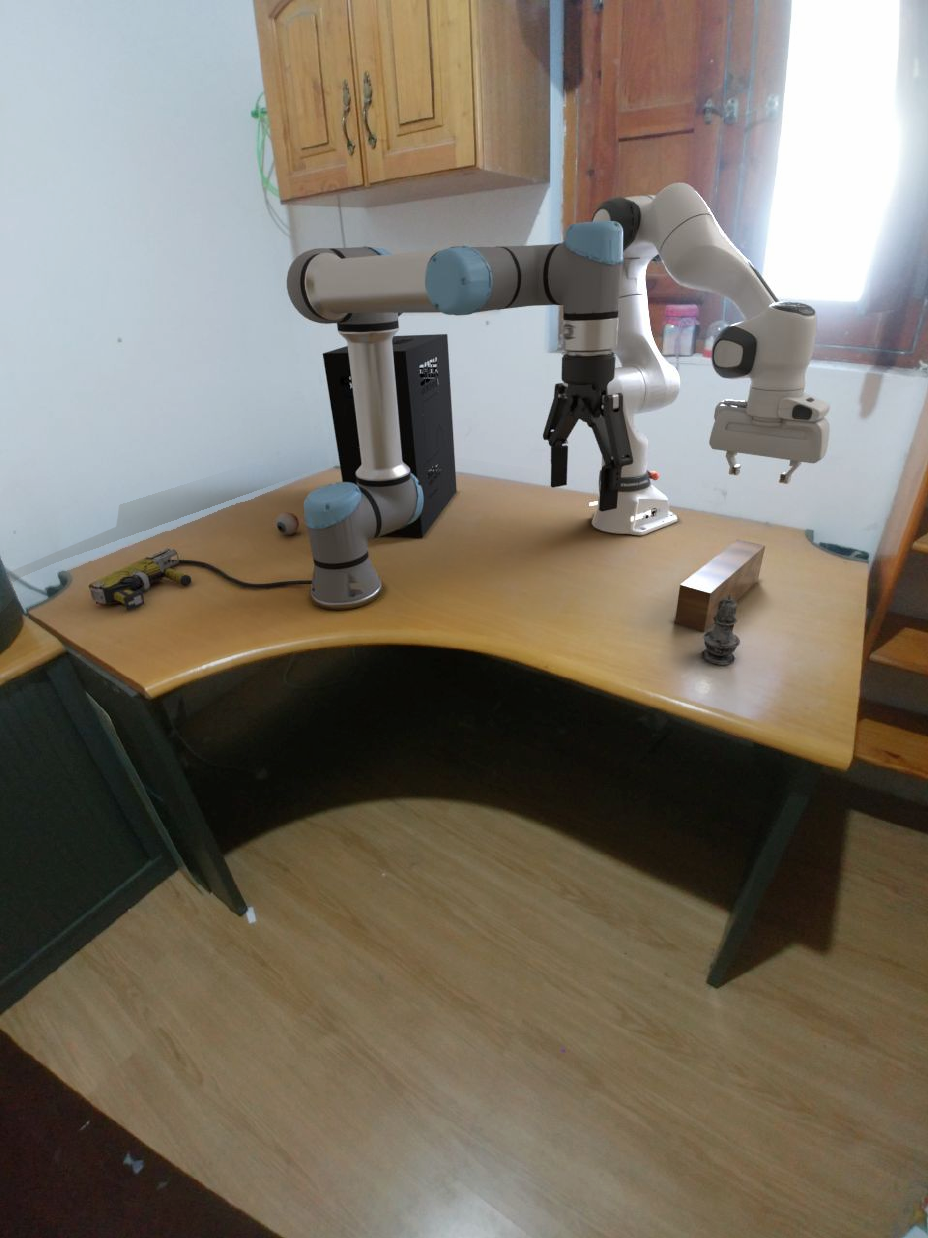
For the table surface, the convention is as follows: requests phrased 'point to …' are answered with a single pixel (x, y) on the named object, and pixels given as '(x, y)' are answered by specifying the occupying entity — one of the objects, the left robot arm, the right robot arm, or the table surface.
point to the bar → (718, 583)
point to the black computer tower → (405, 420)
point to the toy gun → (136, 580)
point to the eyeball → (287, 523)
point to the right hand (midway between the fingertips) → (758, 478)
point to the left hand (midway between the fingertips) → (581, 497)
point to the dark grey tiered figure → (722, 635)
